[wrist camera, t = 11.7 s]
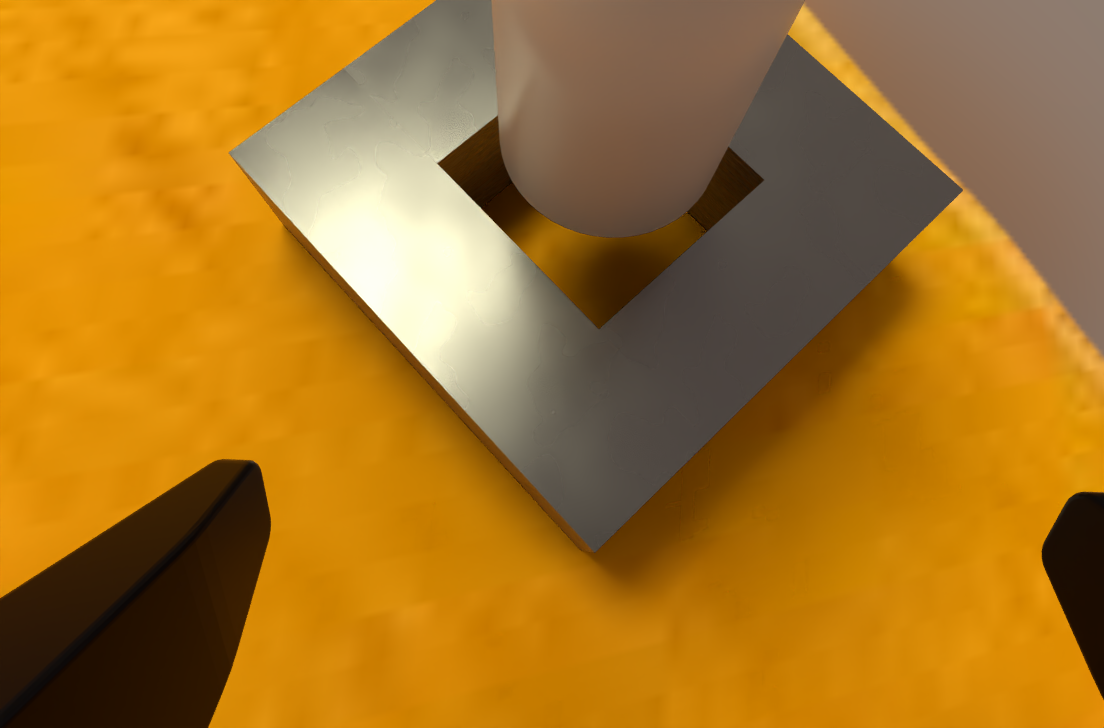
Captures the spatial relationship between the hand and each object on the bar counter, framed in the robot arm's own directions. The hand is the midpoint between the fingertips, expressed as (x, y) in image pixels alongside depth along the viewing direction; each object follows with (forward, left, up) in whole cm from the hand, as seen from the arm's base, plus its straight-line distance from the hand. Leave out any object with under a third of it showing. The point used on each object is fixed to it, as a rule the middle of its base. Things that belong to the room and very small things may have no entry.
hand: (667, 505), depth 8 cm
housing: (+6, -6, -12) cm, 15 cm away
